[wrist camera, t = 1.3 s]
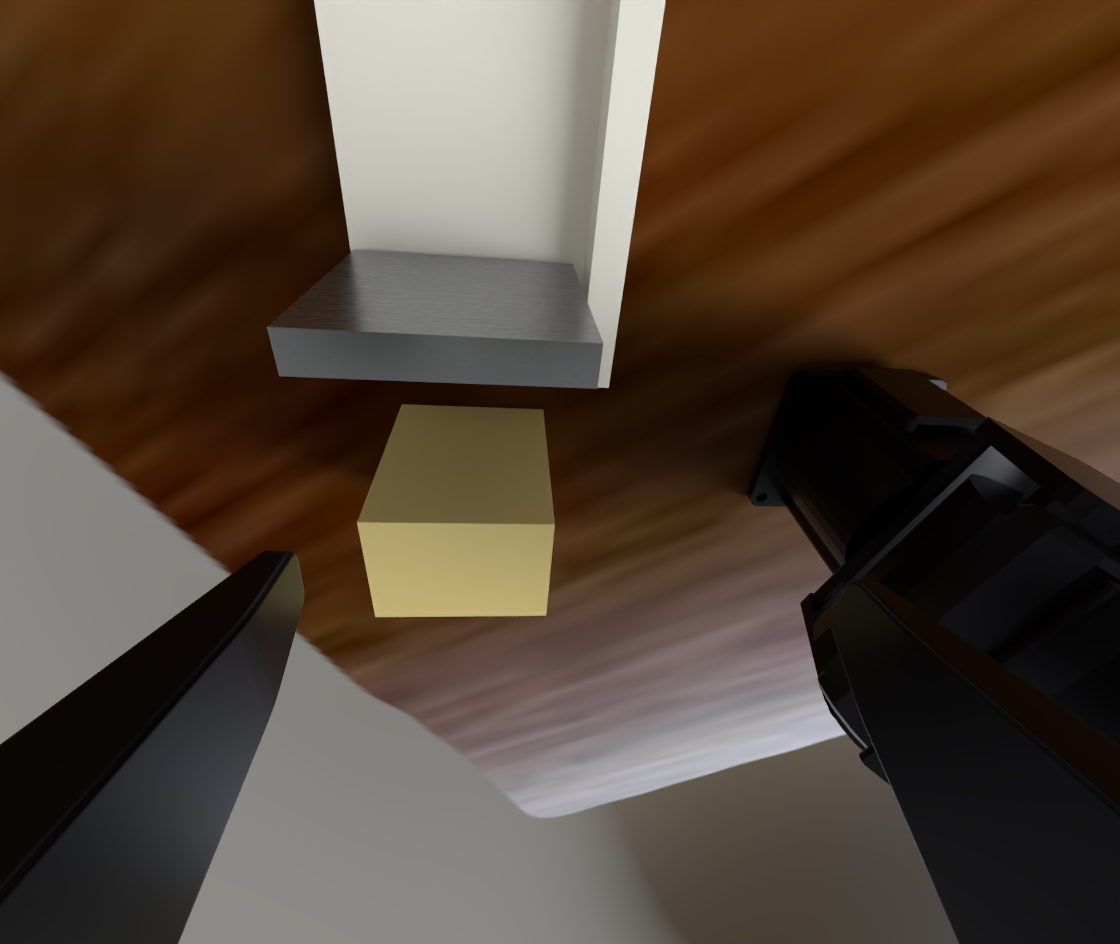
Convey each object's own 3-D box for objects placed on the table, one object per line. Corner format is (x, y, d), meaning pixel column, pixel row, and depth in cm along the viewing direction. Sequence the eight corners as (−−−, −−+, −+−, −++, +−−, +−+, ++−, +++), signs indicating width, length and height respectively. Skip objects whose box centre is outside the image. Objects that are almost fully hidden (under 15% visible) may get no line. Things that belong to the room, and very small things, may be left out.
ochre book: (537, 488, 23) (546, 615, 17) (410, 486, 22) (375, 616, 16) (543, 408, 20) (554, 524, 15) (401, 404, 20) (357, 522, 14)
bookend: (563, 370, 18) (585, 483, 12) (370, 362, 17) (305, 478, 12) (572, 263, 16) (603, 343, 10) (354, 249, 15) (266, 326, 10)
